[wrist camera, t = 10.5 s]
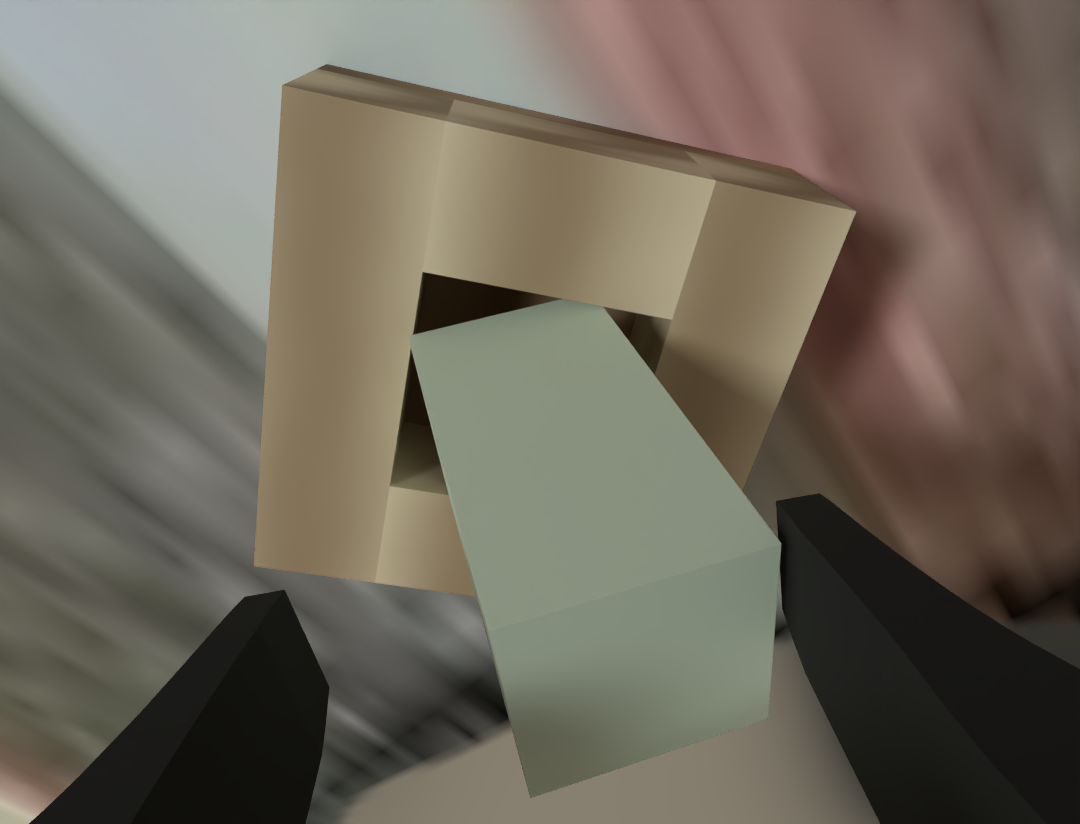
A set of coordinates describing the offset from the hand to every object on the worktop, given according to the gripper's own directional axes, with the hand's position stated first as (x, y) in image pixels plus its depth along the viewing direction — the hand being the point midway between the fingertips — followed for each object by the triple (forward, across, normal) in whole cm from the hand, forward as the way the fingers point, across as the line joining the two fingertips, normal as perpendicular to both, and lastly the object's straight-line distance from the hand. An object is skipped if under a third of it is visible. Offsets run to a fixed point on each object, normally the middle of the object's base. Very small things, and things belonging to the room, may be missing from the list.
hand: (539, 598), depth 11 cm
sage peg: (+7, 0, 0) cm, 7 cm away
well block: (+10, 0, 0) cm, 10 cm away
